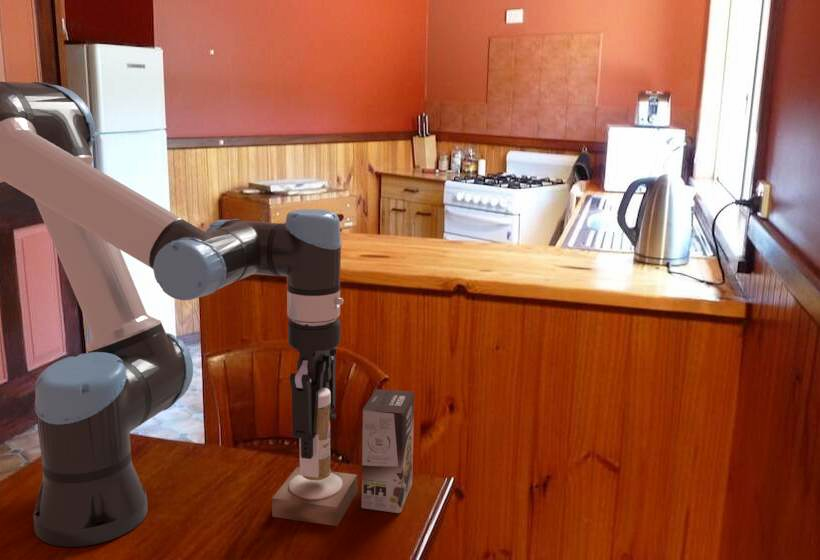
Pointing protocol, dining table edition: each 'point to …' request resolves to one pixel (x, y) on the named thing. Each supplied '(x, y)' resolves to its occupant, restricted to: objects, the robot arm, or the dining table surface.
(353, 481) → the base
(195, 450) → the dining table surface
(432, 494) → the dining table surface
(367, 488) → the coffee box
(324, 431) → the sprinkles bottle
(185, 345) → the robot arm
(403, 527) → the dining table surface
